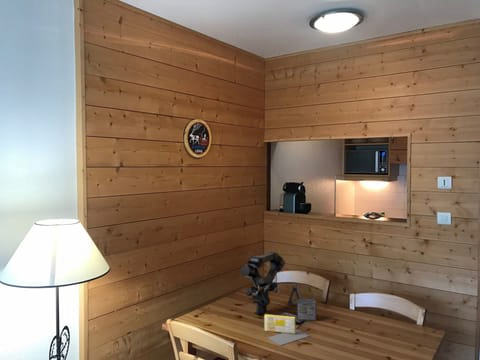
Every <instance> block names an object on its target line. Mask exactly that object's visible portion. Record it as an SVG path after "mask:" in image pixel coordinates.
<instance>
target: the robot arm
mask: <svg viewBox="0 0 480 360" xmlns="http://www.w3.org/2000/svg"><path fill="white" fill-rule="evenodd" d="M268 262H269V266H270V267H269V269H268V272H267V273H266V276H263V275H261V273H260V268H262V267H263V266H264V265H265V263H268ZM285 265H286V262H285V260H284V258H283V257H281V256H280V255H279V254H278V252H275V251H269V252H267V253H264V254H262V255H252V256H251V257H250V258H249V259H248V262H246V263H245V264H244V266H242V267H241V269H240V274H241V276H242V277H244V278H250V279H251V281H252V282H251V284H252V285H254V286H249V287H248V288H247V290H246V291H245V296H246V297H251V298H252V302H253V303H254V304H256V305H255V306H256V308H255V309H256V310H255V311H254V312H253V314H256V315H257V316H259V317H262V316H264V315H265V314H267V315H270V312H268V306H269V305H270V303H271V299H270V297H269V292H270V293H271V292H274V291H275V290H276V289H277V288H278V286H279V284H278V283H277V282H276V281H274V280H275V278H276V276H277V274H278V273H279V272H280V271H283V268H285Z"/></svg>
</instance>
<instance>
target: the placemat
mask: <svg viewBox="0 0 480 360" xmlns="http://www.w3.org/2000/svg"><path fill="white" fill-rule="evenodd" d="M295 332H296V333H295V334H290V333H281V332H280V333H278V334H275V335H271V336H268V337H267V339H268V340H270V341H271V342H273V343H275V344H276V345H278V346H280V347H281V346H285V345H287V344H291V343H293V342H297V341H299V340H304V339H307V338H309V337H310V335H308V334H307V333H305V332H303V331H301V330H299V329H297V328H295Z"/></svg>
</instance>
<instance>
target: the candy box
mask: <svg viewBox="0 0 480 360" xmlns="http://www.w3.org/2000/svg"><path fill="white" fill-rule="evenodd" d="M263 316H264V331H265V332H272V333H273V332H274V333H280V334H281V333H290V334H295V333H296V332H295V329H296V317H295V316H287V315H276V314H265V315H263Z"/></svg>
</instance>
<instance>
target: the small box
mask: <svg viewBox="0 0 480 360" xmlns="http://www.w3.org/2000/svg"><path fill="white" fill-rule="evenodd" d="M296 301H297V305H296V320H297V321H300V320H302V321H305V322H306V321H307V322H308V321H310V322H317V301H316V299H314V298H313V299H311V298H308V299H307V298H302V299H297V298H296Z"/></svg>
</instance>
